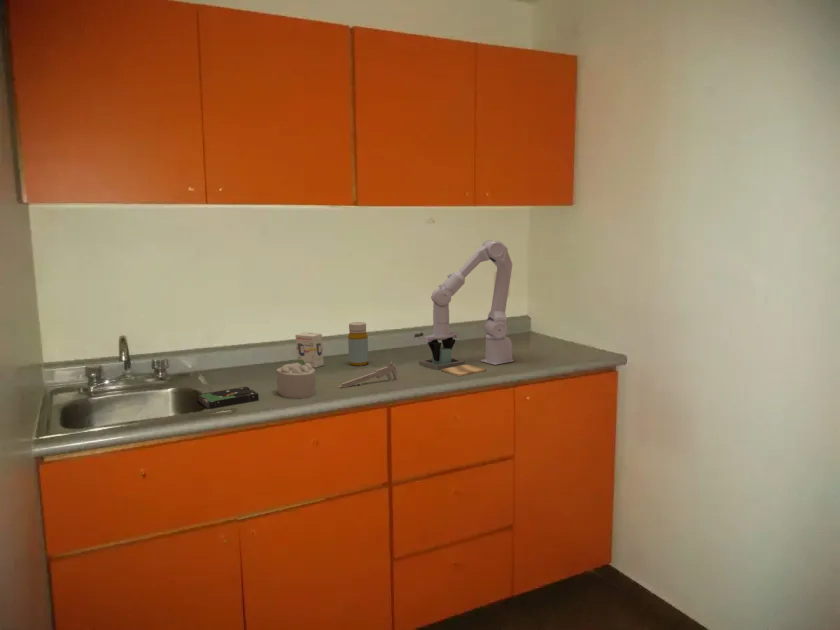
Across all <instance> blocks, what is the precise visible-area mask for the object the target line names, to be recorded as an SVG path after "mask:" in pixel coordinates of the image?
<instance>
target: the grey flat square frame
mask: <svg viewBox="0 0 840 630" xmlns="http://www.w3.org/2000/svg"><path fill="white" fill-rule="evenodd" d="M418 365H419V366H422V367H426V368H429V369H433V370H436V371H441V369H445V368H450V367H455V366H460V365H465V360H461V359H458V358H453V357H451V363H447V364H441V365H437V364H433V363H432V358H428V359H423V360H421V359H420V360H418Z"/></svg>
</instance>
